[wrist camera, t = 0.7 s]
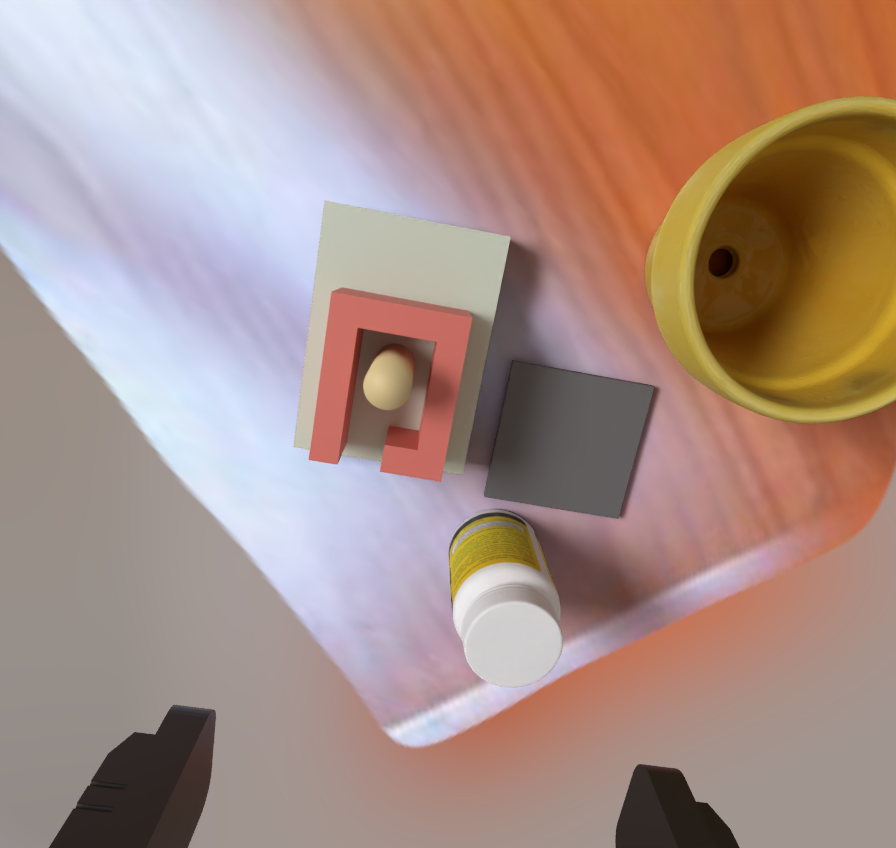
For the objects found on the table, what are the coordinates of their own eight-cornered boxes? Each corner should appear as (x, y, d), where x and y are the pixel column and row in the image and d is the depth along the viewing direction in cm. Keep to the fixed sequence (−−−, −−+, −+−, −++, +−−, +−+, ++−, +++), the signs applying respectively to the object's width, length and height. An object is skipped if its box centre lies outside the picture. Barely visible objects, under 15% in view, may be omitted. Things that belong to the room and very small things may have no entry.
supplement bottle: (429, 544, 33) (428, 640, 25) (499, 489, 32) (522, 569, 24) (487, 606, 34) (505, 716, 26) (557, 553, 33) (596, 650, 25)
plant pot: (629, 127, 28) (729, 65, 19) (851, 164, 29) (1057, 123, 19) (582, 357, 31) (649, 404, 21) (786, 387, 31) (938, 445, 22)
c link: (341, 287, 28) (331, 291, 25) (468, 310, 28) (472, 317, 25) (320, 439, 29) (308, 459, 26) (439, 459, 30) (440, 481, 27)
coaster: (512, 360, 31) (513, 361, 30) (651, 385, 31) (654, 387, 31) (484, 493, 32) (484, 496, 32) (615, 515, 33) (618, 518, 33)
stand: (332, 203, 29) (301, 189, 22) (505, 237, 29) (527, 234, 22) (301, 434, 31) (266, 485, 25) (460, 461, 32) (468, 518, 25)
